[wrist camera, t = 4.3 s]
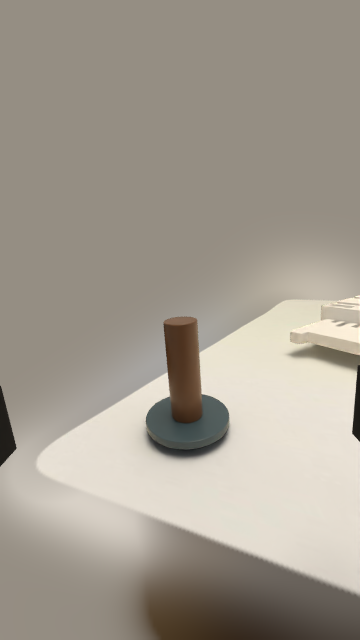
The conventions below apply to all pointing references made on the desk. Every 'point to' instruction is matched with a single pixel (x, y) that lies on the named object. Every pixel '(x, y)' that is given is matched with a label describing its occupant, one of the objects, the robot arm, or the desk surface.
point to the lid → (185, 394)
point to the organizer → (334, 327)
